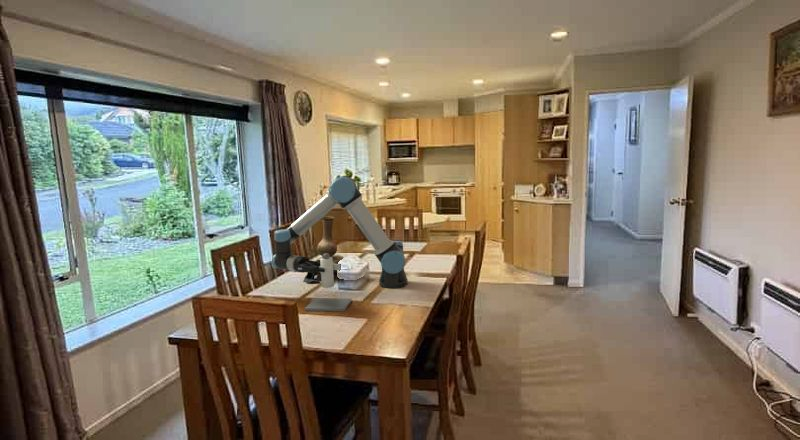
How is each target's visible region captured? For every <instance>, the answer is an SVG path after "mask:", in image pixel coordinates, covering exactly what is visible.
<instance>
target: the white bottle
mask: <svg viewBox="0 0 800 440" xmlns="http://www.w3.org/2000/svg"><path fill="white" fill-rule="evenodd" d="M319 258H320V257H319ZM320 266H323V267H330V268H331V270H332V274H327V273H321V277H320V280H321V281H320V282H321V288H323V289H324V288H325V289H330V288H333V287H334V286H335V277H334V274H333V258H332V257H330V255H329V254H328V253H325V254H323V258H320Z"/></svg>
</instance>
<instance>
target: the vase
mask: <svg viewBox="0 0 800 440" xmlns="http://www.w3.org/2000/svg"><path fill="white" fill-rule="evenodd" d="M321 219H322V230H323V231H322V232H323V234H322V239H321V240H320V242H319V243H318V245H317V247H316V249H317V253H318V254H319V255H320V256H321V257H318V258H317V259H315V260H313V261H317V260H320V258H323V254H325V253H328V254H329V255H330V257H332V258H333V264H338V262H339V261H340V260H342V259H343V258H344V259H345V257H344V256H343V255H341V254H336V253H337V251H338V245H337V243H336V242H335V241H334V240H333V235H332V234H333V224H334V221H335V220H334V219H335V217H334V216H329V215H328V216H326V215H324V216H323V217H322V218H321ZM333 274H334V278H335V277H336V278H337V270H333ZM318 279H321V272H319V274H317V272H315V273H308V272H306V275H305V276H304V279H303V281H302V283H306V284H307V285H308V284H310V283H312V282H317V283H318V284H321V281H320V280H318Z"/></svg>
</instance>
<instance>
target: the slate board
mask: <svg viewBox="0 0 800 440" xmlns="http://www.w3.org/2000/svg"><path fill="white" fill-rule="evenodd" d="M352 299H353V298H352V297H351V298H349V297H345V298H344V297H343V298H342V297H334V298H333V297H314V299H313V300H312V301H310V303H308V304H307V305H306V306H305V307H304V311H305V312H345V311H346V309H347V308H348V307H349V305H350V304H351V302H352Z"/></svg>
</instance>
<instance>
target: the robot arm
mask: <svg viewBox="0 0 800 440" xmlns="http://www.w3.org/2000/svg"><path fill="white" fill-rule="evenodd" d="M362 199H363V195H362V193H361V191H360V190H359V188H358V187H357V184H356V181H355V180H354V179H353V178H351V177H349V176H346V175H343V176H339V177H337V178H335V179H334V180H333V181H332V182H331V184H330V187H329V189H328V190H327V191H326V194H325V195H324V196H322V197H321V198H320V199H319V200H318V201H317V202H315V203H314V204H313V205H312V206H311V207H309V208H308V210H306V212H304V213H303V214H302V215H301V216H300V217H299V218H298V219H296V220H295V221H294V222H293V223H292V224H291V225H290V226H289V227H287V228H285V229H278V230H274V232H273V233H274V235H273V237H274V238H273V239H274V245H275V254H274V255H272V259H271V265H272V267H274V268H275V269H279V270H280V271H281V270H284V271H289V272H293V273H296V272H297V273H303V274H304V273H315V272H317V274H319V272H321V273H327V274H332V270H331V268H330V267H323V266H320V260H317V261H314V260H309V258H308V257H307V256H303V255H301V256H300V255H295V254H292V251H293V250H292V244H293V243H295V242H296V241H297V240H298V239H299V238H300V237H302V236H303V235H304V234H305V233H306V232H307V231H308V230H309V229H311V227H313V226H314V225H315V224H317V223H318V222H319V221H320V220H321V219H322V217H324V216H326V215H327V214H328V213H329V212H330V211H331V210H333V209H334V208H335V207H336V206H337V205H339V206H340V208H341V209H342V210H345V211H347V212H348V214H349V215H350V216H351V218H352V219H353V221H354V223H356V225H357V226H358V228H359V230H360V231H361V232H362V234H363V235H364V236H365V238H366V239H367V240H368V241H369V244H370V245H371V246H372V247H373V249H374V255H375V257H376V258H377V261H379V262H380V265H381V273H380V276H379V280H378V282H379V286H380V287H382V288H386V289H398V288H402V287H406V286H408V283H409V281H408V277H407V273H406V271H405V265H406V257H405V254H404V242H402V241H401V240H398V241H397V240H391V239H390V238H389V236H387V234H386V233H385V231H384V230H383V228H382V227H381V226H380V224H379V223H378V221H377V220H376V218H375V217H374V216H373V214H372V213H371V211H370V209H368V207H367V205H366V204H365V203H364V201H363V200H362ZM333 270H339V271H340V270H341V264H333ZM405 285H406V286H405Z"/></svg>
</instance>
